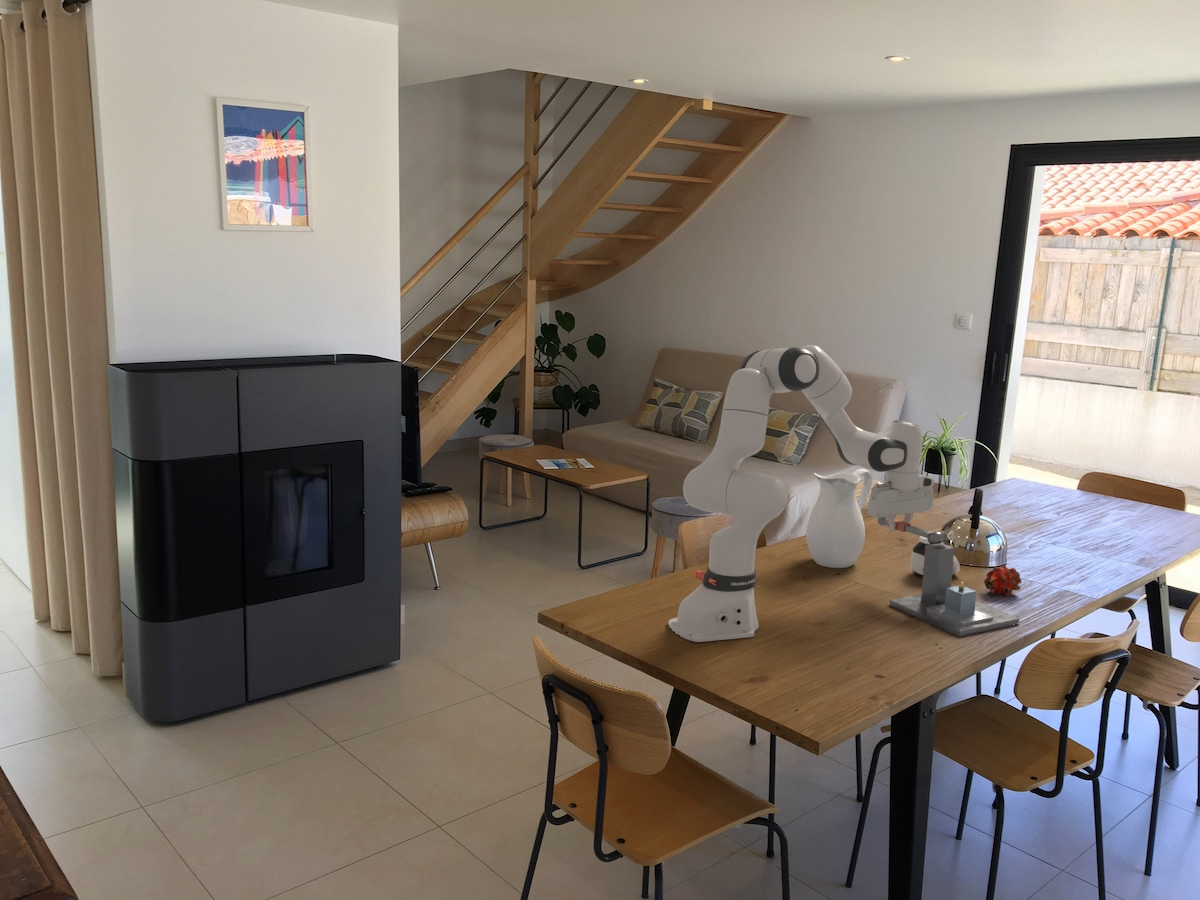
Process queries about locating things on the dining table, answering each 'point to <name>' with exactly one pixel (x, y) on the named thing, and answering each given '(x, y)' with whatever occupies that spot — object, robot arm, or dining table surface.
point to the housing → (960, 600)
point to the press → (933, 598)
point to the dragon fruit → (1002, 580)
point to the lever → (917, 531)
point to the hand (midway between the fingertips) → (898, 529)
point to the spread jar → (919, 555)
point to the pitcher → (838, 519)
